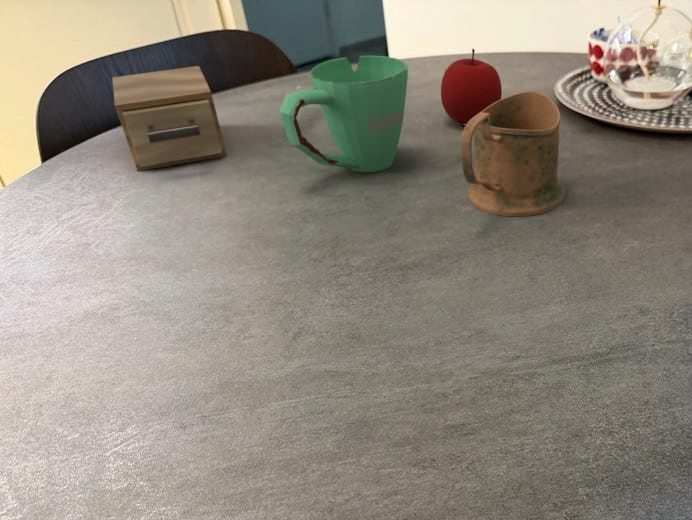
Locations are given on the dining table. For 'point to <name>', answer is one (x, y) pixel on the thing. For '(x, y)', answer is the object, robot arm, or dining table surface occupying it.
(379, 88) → the mug
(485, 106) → the apple
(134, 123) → the drawer
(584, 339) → the dining table surface
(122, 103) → the cabinet
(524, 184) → the mug
